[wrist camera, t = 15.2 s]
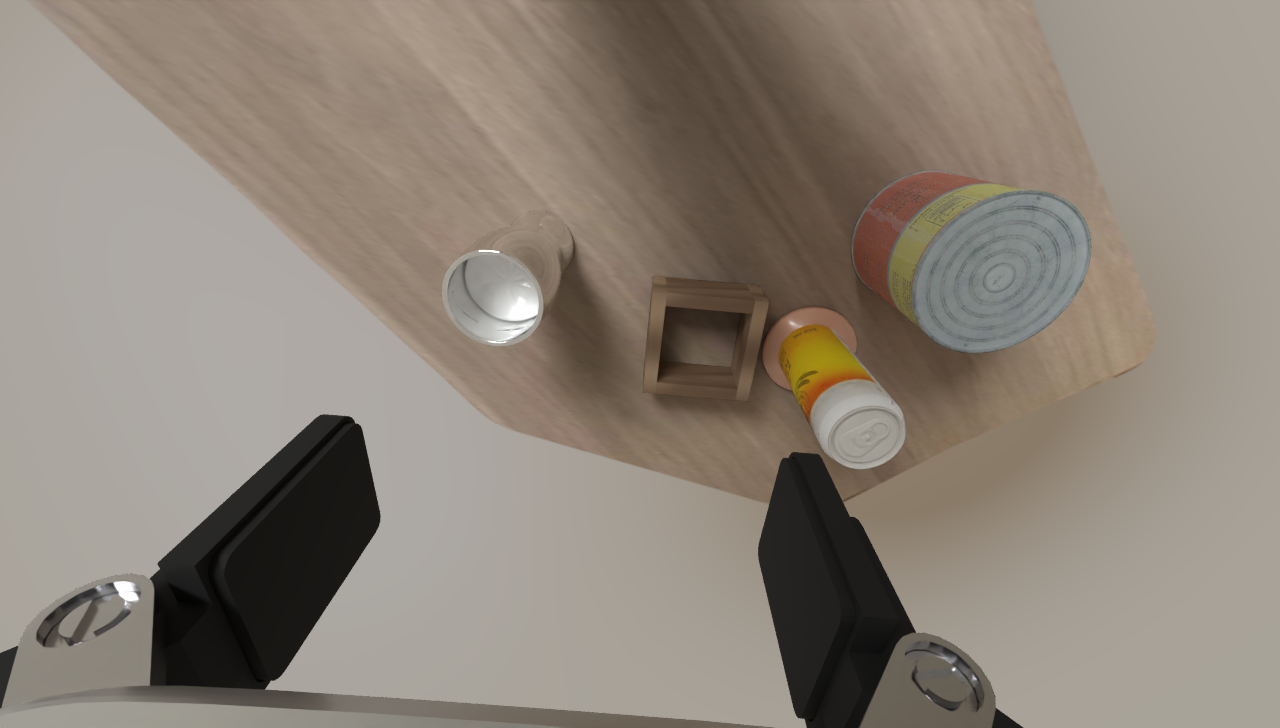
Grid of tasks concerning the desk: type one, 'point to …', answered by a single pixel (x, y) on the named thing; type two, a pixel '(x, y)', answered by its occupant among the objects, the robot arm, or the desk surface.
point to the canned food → (971, 257)
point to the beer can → (841, 398)
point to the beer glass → (508, 279)
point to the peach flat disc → (794, 322)
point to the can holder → (703, 377)
